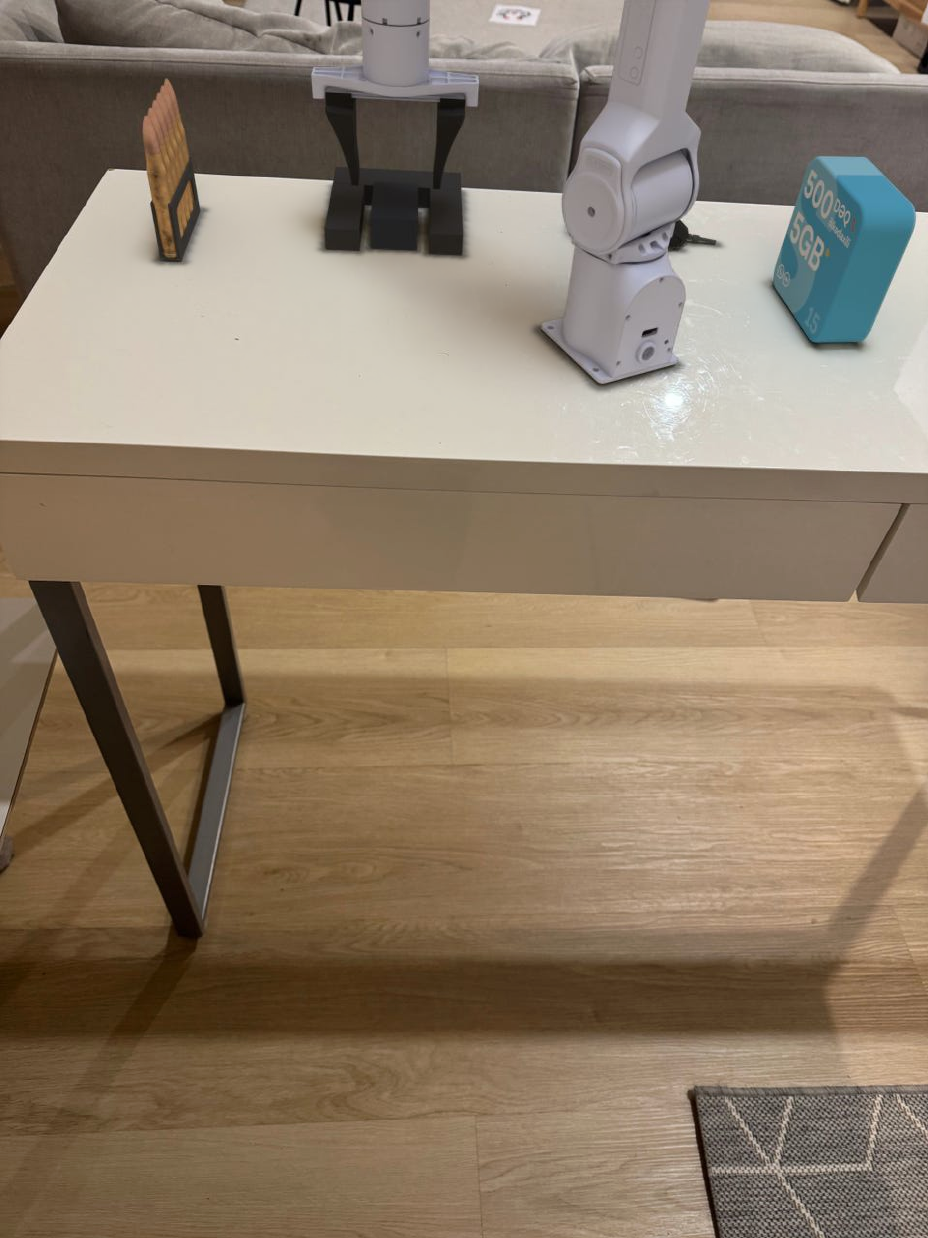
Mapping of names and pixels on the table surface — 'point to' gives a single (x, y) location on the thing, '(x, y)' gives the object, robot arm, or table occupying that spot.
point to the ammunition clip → (170, 176)
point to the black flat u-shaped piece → (442, 206)
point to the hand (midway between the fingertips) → (396, 182)
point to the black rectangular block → (394, 216)
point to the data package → (842, 248)
